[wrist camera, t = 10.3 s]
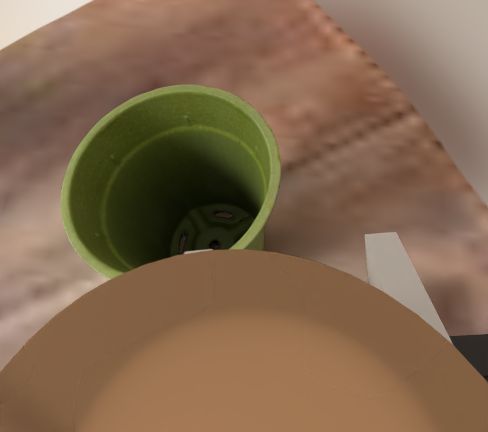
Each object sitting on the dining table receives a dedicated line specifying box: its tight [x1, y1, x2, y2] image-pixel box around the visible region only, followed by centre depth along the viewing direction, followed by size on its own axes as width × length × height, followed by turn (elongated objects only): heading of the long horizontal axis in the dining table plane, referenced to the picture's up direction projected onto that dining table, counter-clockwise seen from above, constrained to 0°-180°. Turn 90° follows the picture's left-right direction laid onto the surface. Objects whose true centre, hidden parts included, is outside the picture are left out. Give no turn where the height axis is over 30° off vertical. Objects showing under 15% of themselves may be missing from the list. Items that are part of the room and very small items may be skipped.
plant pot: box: [61, 85, 281, 279], centre depth 28 cm, size 12×12×11 cm
